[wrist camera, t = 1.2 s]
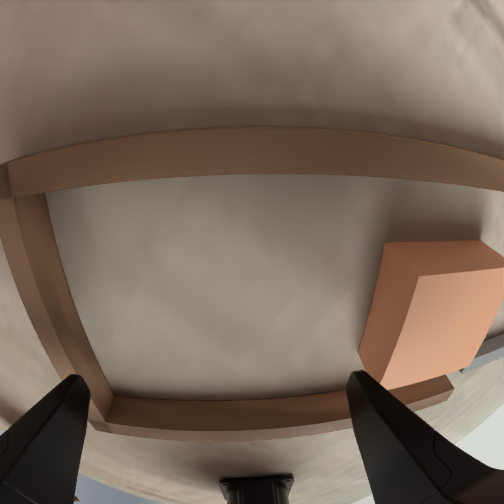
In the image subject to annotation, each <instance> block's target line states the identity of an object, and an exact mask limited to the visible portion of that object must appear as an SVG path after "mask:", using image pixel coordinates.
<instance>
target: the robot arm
mask: <svg viewBox="0 0 504 504" xmlns="http://www.w3.org/2000/svg"><path fill="white" fill-rule="evenodd" d="M346 394H347V399H348V404H349V409H350V415H351V420H352V425H353V430H354V434H355V437H356V441H357V444H358V447H359V450H360V453H361V457H362V460H363V463H364V467H365V470H366V473H367V477H368V480H369V483H370V487H371V490H372V494H373V497H374V501H375V504H504V470H499V469H495V468H492V467H489V466H487V465H485V464H484V463H481V462H480V461H479V460H477V459H475V458H474V457H472V456H471V455H469V454H467V453H466V452H464V451H462V450H461V449H460V448H458V447H456V446H455V445H454V444H452V443H451V442H450V441H448V440H447V439H446V438H445V437H443V436H442V435H441V434H440V433H438V432H437V431H434V429H433V428H432V427H431V426H430V425H429V424H427V423H426V422H425V421H424V420H423V419H421V418H420V417H419V416H418V415H417V414H415V413H414V412H413V411H412V410H411V409H409V408H408V407H407V406H406V405H405V404H403V403H402V402H401V401H400V400H399V399H397V398H396V397H395V396H394V395H393V394H392V393H390V392H389V391H388V390H387V389H386V388H384V387H383V386H382V385H381V384H380V383H379V382H377V381H376V380H375V379H374V378H373V377H371V376H370V375H369V374H368V373H367V372H366V371H364V370H359V371H354V372H352V373H351V375H350V378H349V381H348V384H347V387H346ZM90 397H91V392H90V389H89V387H88V385H87V384H86V382H85V380H84V378H83V377H82V376H81V375H78V374H70V375H69V376H67V377H66V378H65V379H64V380H63V381H62V382H60V383H59V384H58V385H57V386H56V387H55V388H54V389H52V390H51V391H50V392H49V393H48V394H47V395H46V396H44V397H43V398H42V399H41V400H40V401H39V402H38V403H36V404H35V405H34V406H33V407H32V408H31V409H30V410H29V411H27V412H26V413H25V414H24V415H23V416H22V417H21V418H20V419H18V420H17V421H16V422H15V423H14V424H13V425H12V426H11V427H10V428H9V429H8V430H6V431H5V432H4V433H3V434H2V435H1V436H0V504H73V503H74V496H75V489H76V482H77V476H78V470H79V464H80V459H81V454H82V449H83V444H84V439H85V434H86V428H87V420H88V412H89V404H90ZM293 482H294V477H293V476H291V475H289V476H280V477H269V478H254V479H223V480H220V487H221V490H222V493H223V496H224V498H225V500H227V504H289V499H288V495H289V492H290V490H291V487H292V484H293Z"/></svg>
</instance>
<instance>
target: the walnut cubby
mask: <svg viewBox="0 0 504 504" xmlns="http://www.w3.org/2000/svg"><path fill="white" fill-rule="evenodd" d="M229 174H328V175H353V176H371V177H386V178H399V179H410V180H421V181H430V182H439V183H448V184H456V185H463V186H471V187H478V188H484V189H490V190H497V191H502V192H504V160H503V159H499V158H496V157H492V156H489V155H485V154H481V153H477V152H474V151H469V150H465V149H461V148H457V147H452V146H447V145H443V144H438V143H433V142H427V141H422V140H416V139H410V138H404V137H397V136H390V135H383V134H375V133H367V132H358V131H347V130H336V129H322V128H304V127H261V126H257V127H215V128H197V129H183V130H171V131H161V132H151V133H143V134H135V135H127V136H121V137H114V138H108V139H102V140H96V141H90V142H85V143H80V144H75V145H70V146H65V147H61V148H56V149H52V150H48V151H44V152H40V153H36V154H32V155H28V156H24V157H21V158H17V159H14V160H11V161H8V162H6V163H3V164H0V237H1V241H2V244H3V247H4V251H5V254H6V257H7V260H8V264H9V267H10V270H11V272H12V275H13V278H14V281H15V284H16V286H17V289H18V292H19V294H20V297H21V299H22V302H23V304H24V306H25V309H26V311H27V314H28V316H29V318H30V320H31V322H32V325H33V327H34V329H35V331H36V333H37V335H38V337H39V339H40V341H41V343H42V345H43V347H44V349H45V351H46V353H47V355H48V357H49V359H50V360H51V362H52V364H53V366H54V368H55V369H56V371H57V373H58V375H59V376H60V378H61V380H62V381H63V380H64V379H65V378H66V377H67V376H69V375H70V374H78V375H81V376H82V377H83V378H84V380H85V382H86V384H87V385H88V387H89V389H90V392H91V397H90V404H89V412H88V421H89V422H90V423H91V425H92V426H93V427H94V429H95V430H97V431H102V432H108V433H114V434H120V435H128V436H135V437H144V438H153V439H165V440H180V441H252V440H268V439H279V438H289V437H298V436H306V435H313V434H320V433H326V432H332V431H338V430H343V429H348V428H353V425H352V420H351V415H350V409H349V404H348V399H347V394H346V390H341V391H335V392H328V393H321V394H313V395H305V396H296V397H286V398H274V399H260V400H239V401H179V400H158V399H144V398H133V397H123V396H114V394H113V392H112V390H111V388H110V386H109V384H108V382H107V380H106V378H105V376H104V374H103V372H102V370H101V368H100V366H99V364H98V362H97V360H96V357H95V355H94V353H93V351H92V348H91V346H90V344H89V341H88V339H87V337H86V334H85V332H84V329H83V327H82V324H81V322H80V319H79V316H78V314H77V311H76V308H75V306H74V303H73V300H72V297H71V294H70V291H69V288H68V285H67V282H66V279H65V275H64V272H63V269H62V265H61V262H60V258H59V255H58V251H57V247H56V243H55V239H54V235H53V231H52V227H51V222H50V218H49V213H48V208H47V203H46V197H45V192H49V191H55V190H62V189H68V188H75V187H83V186H90V185H98V184H106V183H115V182H125V181H135V180H146V179H157V178H171V177H186V176H204V175H229ZM453 390H454V387H453V386H452V384H451V382H450V381H449V379H448V378H447V376H446V375H442V376H438V377H435V378H432V379H429V380H425V381H422V382H418V383H414V384H410V385H407V386H403V387H399V388H395V389H390V390H388V391H389V392H390V393H392V394H393V395H394V396H395V397H396V398H397V399H399V400H400V401H401V402H402V403H403V404H405V405H406V406H407V407H408V408H409V409H411V410H412V411H413V412H415V411H418V410H421V409H424V408H427V407H430V406H433V405H436V404H438V403H441V402H444V401H447V399H448V398H449V396H450V395H451V393H452V392H453Z"/></svg>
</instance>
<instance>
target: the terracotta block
mask: <svg viewBox="0 0 504 504" xmlns="http://www.w3.org/2000/svg"><path fill="white" fill-rule="evenodd" d="M503 297H504V257H503V256H501V255H500V254H499V253H497V252H496V251H495V250H493V249H492V248H490V247H489V246H488V245H486V244H485V243H483V242H482V241H480V240H475V241H420V242H385V243H384V249H383V254H382V259H381V264H380V269H379V274H378V278H377V283H376V287H375V291H374V296H373V300H372V304H371V308H370V312H369V315H368V319H367V323H366V327H365V330H364V334H363V337H362V341H361V344H360V347H359V351H358V354H359V356H360V358H361V360H362V363H363V365H364V367H365V369H366V371H367V373H368V374H369V375H370V376H371V377H373V378H374V379H375V380H376V381H377V382H379V383H380V384H381V385H382V386H383V387H384V388H386V389H387V390H390V389H395V388H399V387H403V386H407V385H410V384H414V383H418V382H422V381H425V380H429V379H432V378H435V377H438V376H442V375H445V374H448V373H451V372H454V371H457V370H460V369H463V368H466V367H468V366H470V364H471V362H472V361H473V359H474V357H475V355H476V353H477V352H478V350H479V348H480V346H481V344H482V342H483V340H484V338H485V337H486V335H487V333H488V330H489V328H490V326H491V324H492V322H493V320H494V318H495V316H496V314H497V311H498V309H499V307H500V304H501V302H502V300H503Z"/></svg>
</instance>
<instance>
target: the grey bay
mask: <svg viewBox="0 0 504 504" xmlns="http://www.w3.org/2000/svg"><path fill="white" fill-rule="evenodd" d="M503 356H504V334H501V335H498V336H496V337H493V338H490V339H487V340H484V341H483V342H482V344H481V346H480V348H479V350H478V352H477V353H476V355H475V357H474V359H473V361H472V362H471V364H470V366H468V367H466V368H463V369H460V372H461V373H464V372H467V371H469V370H472V369H474V368H477V367H480V366H482V365H484V364H487V363H489V362H492V361H494V360H496V359H499V358H501V357H503Z"/></svg>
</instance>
